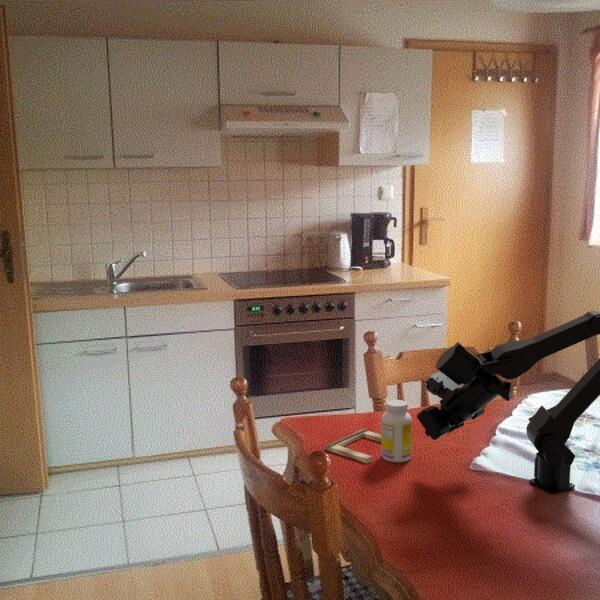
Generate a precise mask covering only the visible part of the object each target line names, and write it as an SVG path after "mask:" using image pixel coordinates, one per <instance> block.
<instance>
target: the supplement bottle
mask: <svg viewBox="0 0 600 600" xmlns="http://www.w3.org/2000/svg"><path fill="white" fill-rule="evenodd" d="M385 404H386V405H385V409H386V412H384V413H383V414H382V416H381V435H382V443H381V457H382V458H383V460H385V461H388V462H391V463H405V462H408V461H409V460H410V459H411V458H412V443H413V442H412V438H413V437H412V435H413V432H412V431H413V429H412V428H413V427H412V425H413V420H412V415H411V414H410V413H409V412H407V410H408V408H409V407H408V402H407V401H405V400H402V399H391V400H387V401H386V403H385Z"/></svg>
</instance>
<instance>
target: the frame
mask: <svg viewBox="0 0 600 600" xmlns="http://www.w3.org/2000/svg"><path fill="white" fill-rule="evenodd" d="M362 437H366V438H365V439H368V438H369V439H368V440H371V439H372V441H374V440H375V441H374V442H378V443H381V444H382V434H380V433H376V432H373V431H370V430H368V429H367V428H363V429H360V430H357V431H355V432H353V433H351V434H349V435H346V436H344V437H342V438H339V439H338V440H334V441H331V442H330V443H328V444H326V445H325V446H324V448H325V450H326V451H328V452H332V453H335V454H338V455H340V456H343V457H345V458H350V459H353V460H356V461H358V462H362V463H364V464H368V463H370V462H371V463H372V462H373V456H372V455H369V454H365V453H364V452H359V451H356V450H353V449H351V448H348V447H345V446H348V445H351V444H352V442H353V443H354V441H355V442H357V441H359V440H361V439H363V438H362ZM360 438H361V439H360ZM358 439H359V440H358ZM356 440H357V441H356Z"/></svg>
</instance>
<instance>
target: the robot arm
mask: <svg viewBox="0 0 600 600" xmlns="http://www.w3.org/2000/svg"><path fill="white" fill-rule="evenodd" d="M597 335H599V336H600V312H598V311H596V310H590V311H587V312H585V314H583V315H581V316H579V317H575V318H574V319H571V320H569V321H568V322H565V323H563V324H560V325H558V326H556V327H554V328H551V329H549V330H547V331H545V332H543V333H540V334H538V335H535V336H533V337H531V338H527V339H520V340H512V341H508V342H504V343H500V344H499V345H495V346H494V347H493V348H492V350H490V351H486V352H485V351H484V352H481V353H477V354H473V353H471V352H470V351H469V350H467V349H466V348H465V346H464V345H463V344H462V343H460V342H459V341H457V342H456V343H455V344H454V345H452V346H450V347H448V349H447V350H444V351H443V353H442V354H441V355H440V356H439V358H438V359H437V362H436V364H435V369H436V370H438V372H435V373H433V374H432V375H431V376H430V377H429V378H428V379H426V381H425V389H426V391H428V392H429V393H431V394H432V395H433V396H437V397H438V398H439V399H440V400H439V402H438V403H440V408H439V407H438V406H433V405H429V406H428V407H426V408H423V409H422V410H420V411H419V412H418V413H417V414H416V418H417V420H418V421H419V422H420V425H422V426H423V428H424V430H425V431H424V434H425V435H426V436H427V437H430V438H431V439H432V440H434V441H436V440H438V439H440V438H442V437H444V436H445V435H448V434H449V433H452V432H454V431H455V430H456V429H457V430H458V429H460V428H462V427H464V425H465V422H467V421H469V420H472V421H475V420H476V419H479V418H480V417H481V416H483V415H484V414H485V408H486V407H487V405H488V404H489V403H491V402H492V401H493V400H494V399H496V398H498V396H500V397H501V398H503V399H504V400H505V401H507V402H509V401H510V400H511V396H512V395H511V394H512V393H511V392H512V388H511V387H512V382H511V381H510V382H509V381H505V380H503V379H506V380H514V379H518V378H519V377H520V376H522V375H523V374H525V373H527V372H528V371H530V370H531V369H532V368H533V367H534V366H535V365H536V364H537V363H539V362H540V361H542V360H543V359H545V358H546V357H549V356H551V355H554V354H555V353H558V352H560V351H563V350H565V349H568V348H570V347H572V346H574V345H576V344H579V343H582V342H583V341H585V340H588V339H591V338H593V337H596V336H597ZM497 375H498V376H497ZM499 376H500V377H499ZM501 378H503V379H501ZM599 397H600V357H599V358H598V360H596V361H595V362H594V364H593V365H592V366H591V367H590V368H588V370H587V371H586V373H585V374H583V375H582V377H581V378H580V379H579V380H578V381H577V382H576V383H575V384H574V386H573V387H572V388H570V390H569V391H568V392H566V394H565V395H564V396H563V397H562V398H561V400H559V402H558V403H557V404H555V406H552V407H550V408H548V409H546V408H545V406H544V405H541V406H539V408H538V409H537V410H536V412H535V414H533V415H532V416H531V417H529V418H528V424H527V425H526V428H525V430H526V435H527V438H528V440H529V441H530V442H531V444H532V445H533V447H534V448H535V449H536V450H537V452H536V454H535V455H536V457H535V458H534V468H533V469H534V471H533V472H534V473H533V477H534V478H530V479H528V483H530V484H532V485H534V486H535V487H538V488H539V489H542V490H543V491H545V492H548V493H549V494H552V495H553V494H557V493H558V494H559V493H561V492H564V491H569V490H571V489H570V488H572V487H576V484H574V483H571V482H570V480H571V469H572V468H571V467H572V466H571V465H572V464H573V463H574V461H575V458H576V454H575V453H574V452H573V451H572V450H571V448H570V447H569V446H568V445H567V444H566V443H567V441H568V440H569V439H570V436H571V434H572V430H573V429H574V425H575V423H576V421H577V420H578V419H580V417H581V416H582V415H583V414H584V413H585V411H587V410H588V409H589V408H590V406H591V405H592V404H594V402H595V401H596V400H597V399H598V398H599ZM572 485H573V486H572ZM572 489H573V488H572Z"/></svg>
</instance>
